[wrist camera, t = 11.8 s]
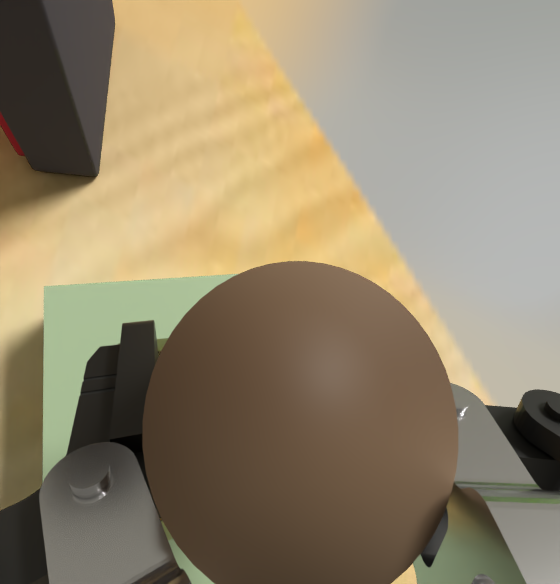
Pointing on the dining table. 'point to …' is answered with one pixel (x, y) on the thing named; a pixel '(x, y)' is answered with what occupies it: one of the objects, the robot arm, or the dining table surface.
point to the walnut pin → (300, 430)
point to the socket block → (103, 332)
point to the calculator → (56, 81)
